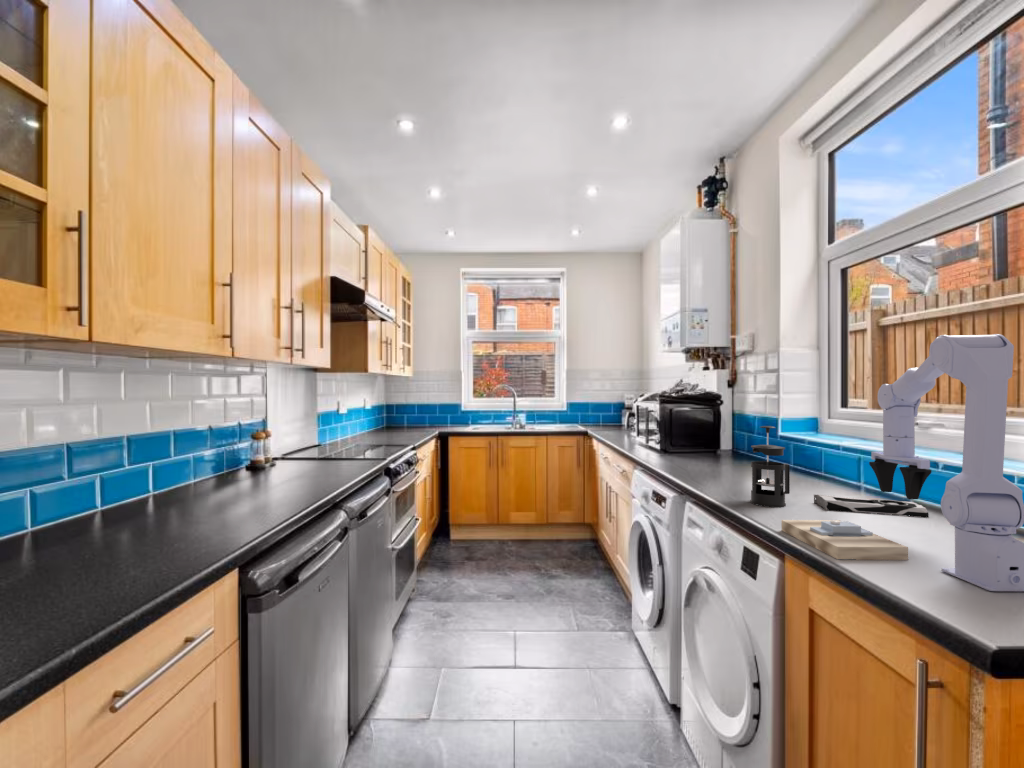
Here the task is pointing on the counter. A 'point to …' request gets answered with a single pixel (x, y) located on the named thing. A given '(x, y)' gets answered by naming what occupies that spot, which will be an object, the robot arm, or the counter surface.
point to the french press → (768, 496)
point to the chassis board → (845, 543)
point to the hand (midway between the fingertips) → (898, 495)
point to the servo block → (840, 529)
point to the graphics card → (870, 506)
